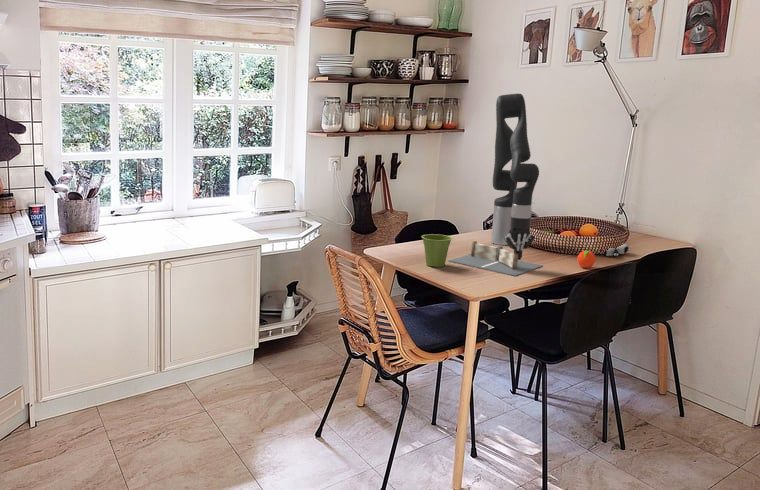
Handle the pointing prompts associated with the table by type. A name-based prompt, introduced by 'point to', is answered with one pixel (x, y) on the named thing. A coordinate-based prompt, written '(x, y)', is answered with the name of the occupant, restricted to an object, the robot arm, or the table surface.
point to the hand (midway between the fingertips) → (517, 259)
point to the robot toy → (617, 250)
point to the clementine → (586, 259)
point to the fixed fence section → (484, 251)
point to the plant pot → (436, 249)
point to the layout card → (495, 265)
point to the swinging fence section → (507, 257)
